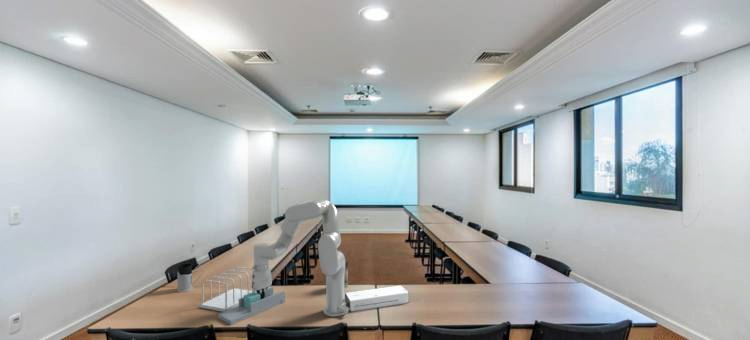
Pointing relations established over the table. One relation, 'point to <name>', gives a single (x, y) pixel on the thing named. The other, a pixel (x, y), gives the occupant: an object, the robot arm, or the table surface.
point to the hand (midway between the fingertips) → (261, 300)
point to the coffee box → (346, 275)
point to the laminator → (376, 298)
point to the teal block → (250, 299)
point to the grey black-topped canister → (185, 277)
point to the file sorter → (226, 294)
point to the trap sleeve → (252, 307)
